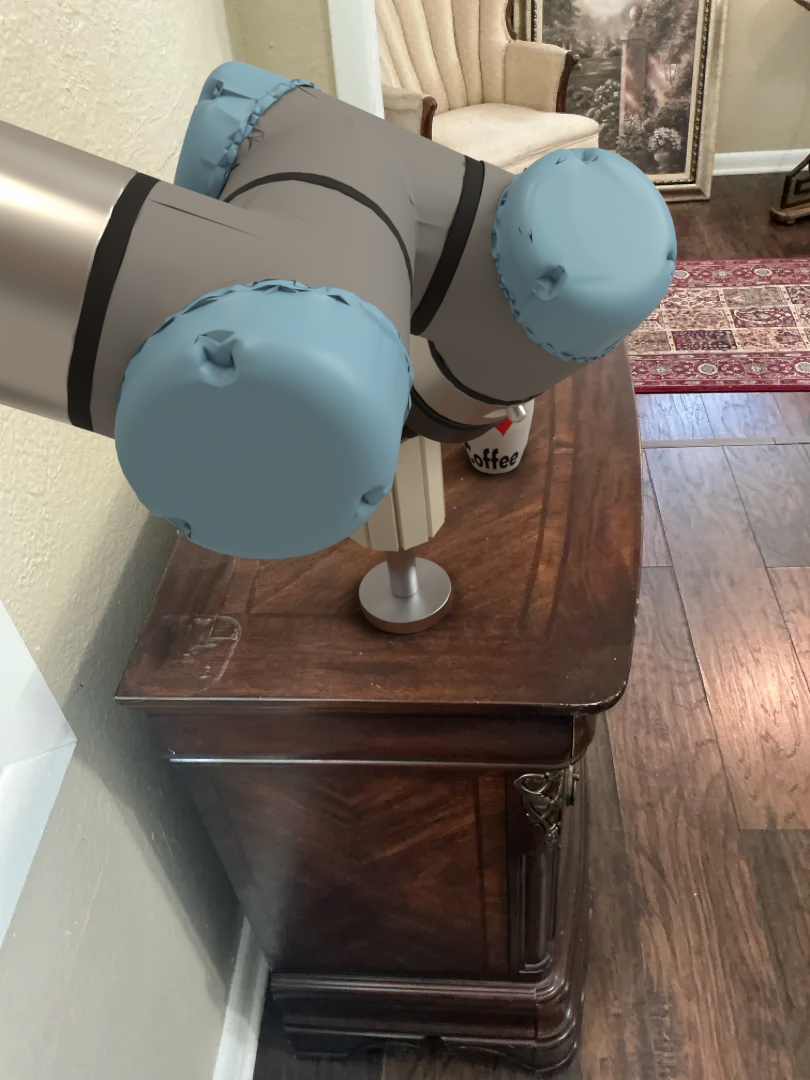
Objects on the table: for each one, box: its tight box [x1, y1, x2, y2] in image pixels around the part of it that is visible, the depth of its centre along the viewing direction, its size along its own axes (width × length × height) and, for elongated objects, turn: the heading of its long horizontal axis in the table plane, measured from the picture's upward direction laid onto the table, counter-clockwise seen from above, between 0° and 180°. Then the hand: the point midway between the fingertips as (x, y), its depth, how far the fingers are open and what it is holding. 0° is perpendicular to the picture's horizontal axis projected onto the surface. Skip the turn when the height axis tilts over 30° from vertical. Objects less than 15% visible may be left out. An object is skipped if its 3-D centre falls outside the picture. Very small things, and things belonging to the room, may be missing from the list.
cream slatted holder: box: [347, 436, 446, 552], centre depth 65 cm, size 8×8×12 cm
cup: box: [462, 398, 535, 475], centre depth 86 cm, size 8×8×10 cm
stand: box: [358, 545, 453, 635], centre depth 71 cm, size 8×8×14 cm
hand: (369, 454), depth 69 cm, fingers closed on cream slatted holder, 8 cm apart
